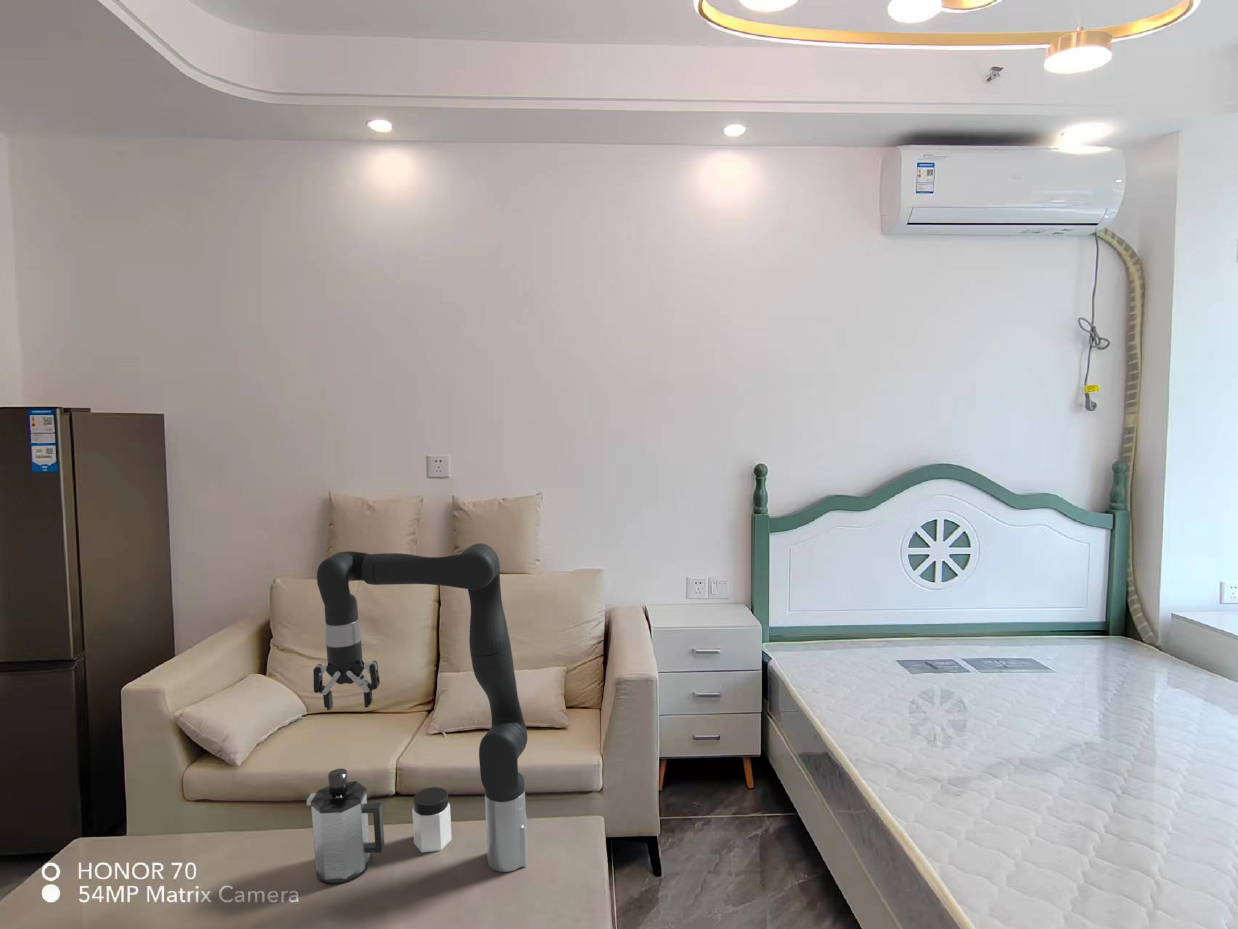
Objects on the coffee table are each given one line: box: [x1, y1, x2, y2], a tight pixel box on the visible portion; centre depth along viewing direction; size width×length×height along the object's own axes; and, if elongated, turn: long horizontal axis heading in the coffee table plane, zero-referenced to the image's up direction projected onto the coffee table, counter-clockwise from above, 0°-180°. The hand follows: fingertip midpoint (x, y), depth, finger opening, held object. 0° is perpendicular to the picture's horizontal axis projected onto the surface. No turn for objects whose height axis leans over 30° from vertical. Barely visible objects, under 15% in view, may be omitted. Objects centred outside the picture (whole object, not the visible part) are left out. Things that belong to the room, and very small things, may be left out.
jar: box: [411, 786, 452, 853], centre depth 179 cm, size 9×8×12 cm
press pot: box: [306, 780, 385, 886], centre depth 170 cm, size 16×12×18 cm
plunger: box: [327, 768, 349, 798], centre depth 169 cm, size 4×4×20 cm
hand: (348, 707), depth 169 cm, fingers open, 8 cm apart
